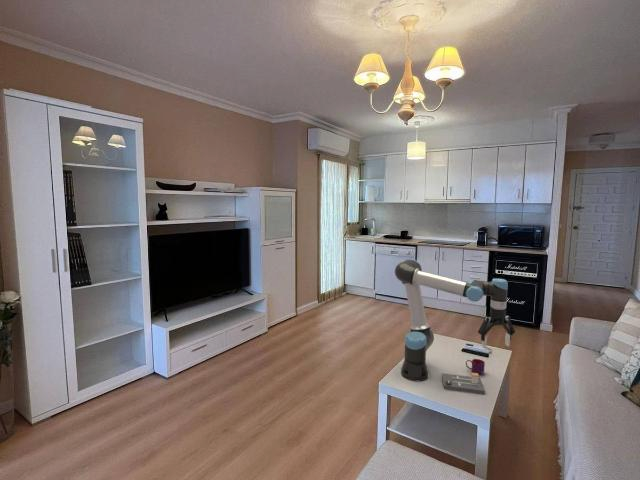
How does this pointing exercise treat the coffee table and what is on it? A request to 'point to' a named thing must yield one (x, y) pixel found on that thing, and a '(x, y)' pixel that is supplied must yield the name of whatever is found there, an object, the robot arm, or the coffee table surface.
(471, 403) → the coffee table surface
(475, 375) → the fader
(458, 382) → the console
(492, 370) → the coffee table surface
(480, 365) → the mug
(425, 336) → the robot arm
